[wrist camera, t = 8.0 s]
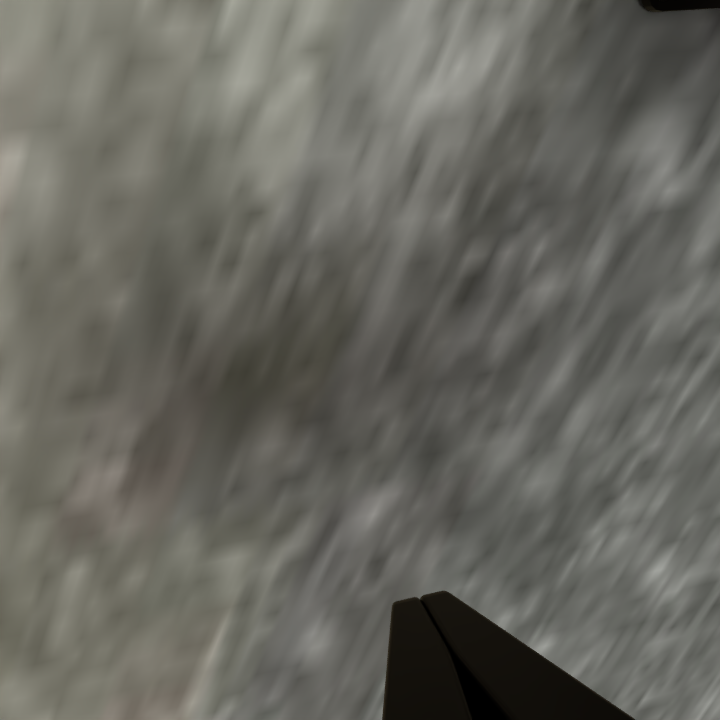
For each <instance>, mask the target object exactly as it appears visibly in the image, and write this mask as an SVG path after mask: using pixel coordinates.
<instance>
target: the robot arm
mask: <svg viewBox="0 0 720 720" xmlns="http://www.w3.org/2000/svg"><path fill="white" fill-rule="evenodd" d="M641 1H642V4H643V6H644V8H646V9H647V10H648V11H652V12H661V11H678V10H695V9H712V8H720V0H641ZM382 720H635V719H634V718H632V717H631V716H629V715H628V714H627V713H625V712H624V711H622V710H621V709H619V708H618V707H616V706H615V705H613V704H612V703H610V702H609V701H607V700H606V699H605V698H603V697H602V696H600V695H599V694H597V693H596V692H594V691H593V690H591V689H590V688H588V687H587V686H585V685H584V684H583V683H581V682H580V681H578V680H577V679H575V678H574V677H572V676H571V675H569V674H568V673H566V672H565V671H563V670H562V669H561V668H559V667H558V666H556V665H555V664H553V663H552V662H550V661H549V660H547V659H546V658H544V657H543V656H542V655H540V654H539V653H537V652H536V651H534V650H533V649H531V648H530V647H528V646H527V645H525V644H524V643H522V642H521V641H520V640H518V639H517V638H515V637H514V636H512V635H511V634H509V633H508V632H506V631H505V630H503V629H502V628H500V627H499V626H498V625H496V624H495V623H493V622H492V621H490V620H489V619H487V618H486V617H484V616H483V615H481V614H480V613H478V612H477V611H476V610H474V609H473V608H471V607H470V606H468V605H467V604H465V603H464V602H462V601H461V600H459V599H458V598H456V597H455V596H454V595H452V594H451V593H449V592H447V591H439V592H435V593H430V594H426V595H423V596H422V597H421V598H420V599H419V598H417V597H413V598H408V599H404V600H400V601H396V602H394V603H393V605H392V611H391V623H390V634H389V646H388V658H387V670H386V681H385V693H384V705H383V717H382Z"/></svg>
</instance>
